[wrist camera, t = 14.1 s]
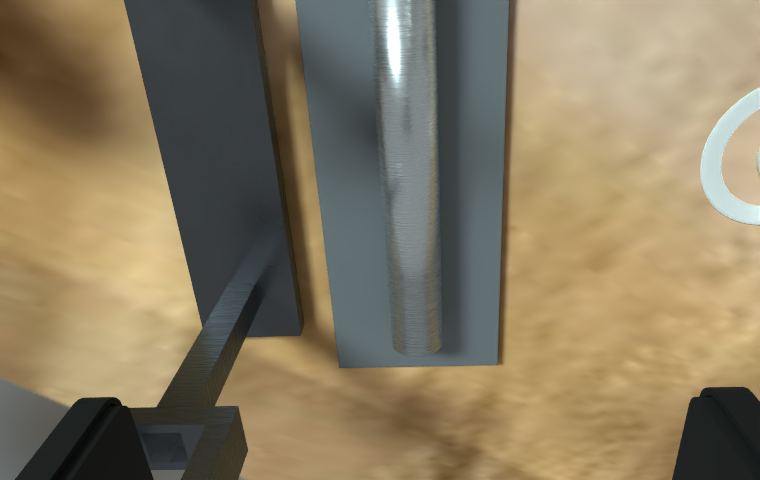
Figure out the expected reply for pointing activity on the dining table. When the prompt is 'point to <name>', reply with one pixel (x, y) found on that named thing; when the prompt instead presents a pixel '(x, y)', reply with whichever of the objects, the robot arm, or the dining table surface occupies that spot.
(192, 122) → the hook stands
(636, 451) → the dining table surface
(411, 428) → the dining table surface
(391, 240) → the steel rail
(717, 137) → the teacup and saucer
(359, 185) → the rubber mat
